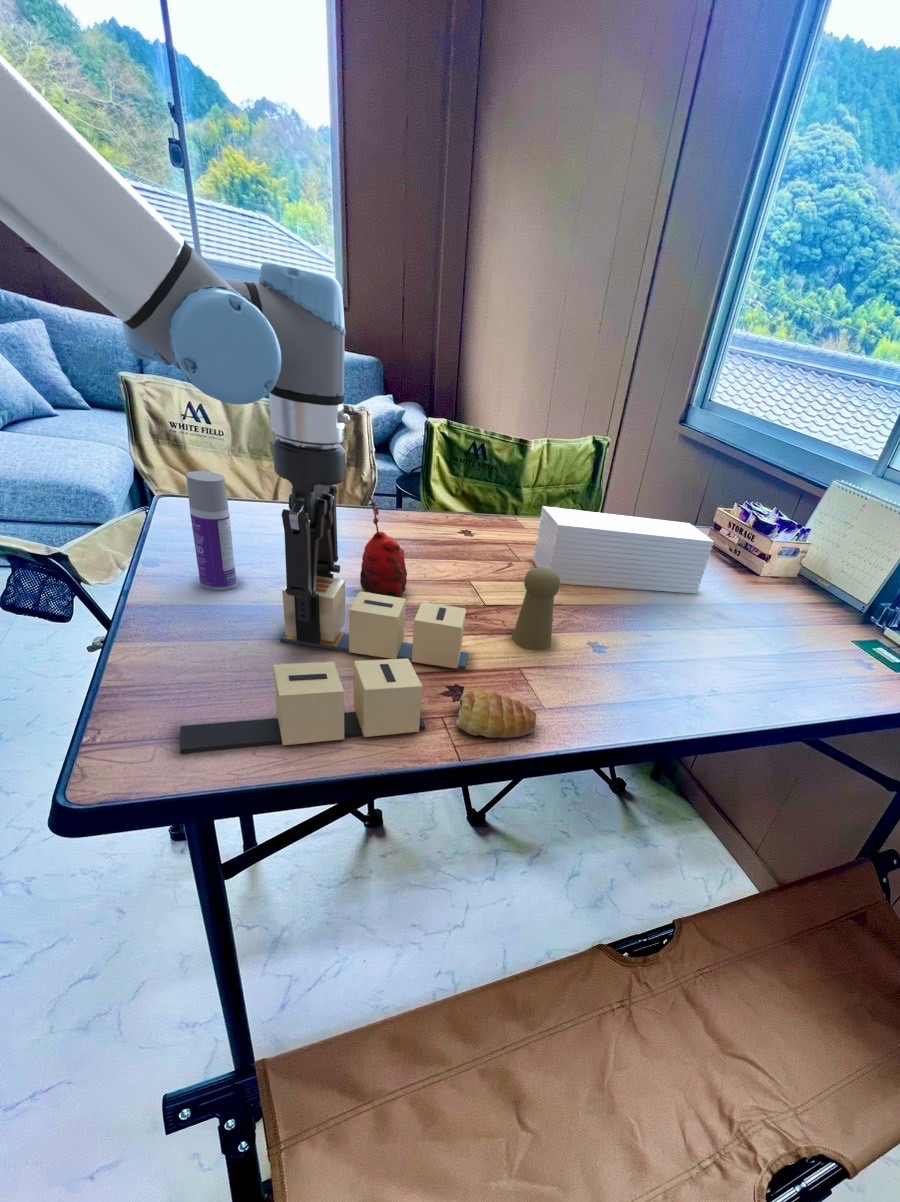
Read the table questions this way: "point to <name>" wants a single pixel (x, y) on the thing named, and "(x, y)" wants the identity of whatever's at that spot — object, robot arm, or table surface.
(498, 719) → the pastry
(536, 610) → the olive pawn figure
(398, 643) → the right word mat
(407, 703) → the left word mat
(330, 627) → the red striped cream cube
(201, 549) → the container
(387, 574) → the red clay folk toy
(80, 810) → the table surface
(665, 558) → the stack of papers
